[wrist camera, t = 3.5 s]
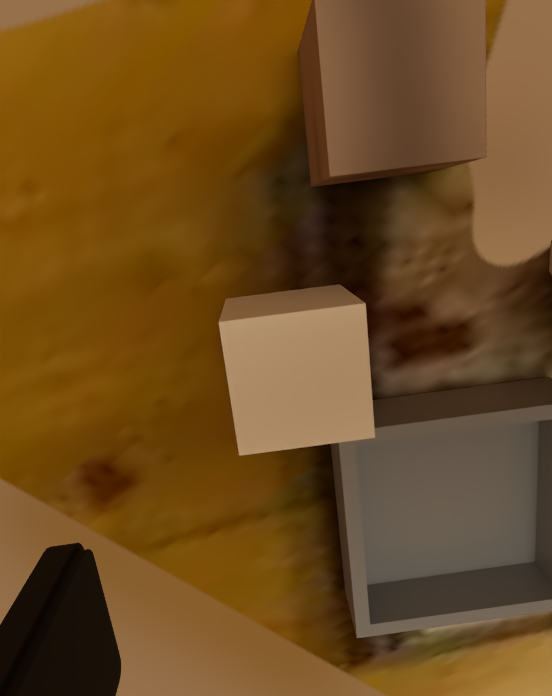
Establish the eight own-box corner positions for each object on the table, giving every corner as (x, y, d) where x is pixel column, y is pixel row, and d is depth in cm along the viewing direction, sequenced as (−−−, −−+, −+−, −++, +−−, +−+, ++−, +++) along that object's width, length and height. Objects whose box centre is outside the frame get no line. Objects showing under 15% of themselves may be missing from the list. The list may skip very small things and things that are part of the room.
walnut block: (425, 36, 22) (485, -27, 17) (429, 172, 24) (486, 157, 18) (297, 52, 22) (314, -7, 16) (310, 187, 24) (329, 176, 18)
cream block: (339, 283, 25) (365, 303, 19) (348, 390, 27) (375, 437, 21) (226, 298, 25) (218, 321, 19) (241, 404, 27) (239, 455, 21)
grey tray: (547, 376, 27) (590, 399, 24) (541, 564, 30) (578, 607, 27) (326, 406, 27) (337, 432, 23) (345, 591, 30) (357, 638, 27)
